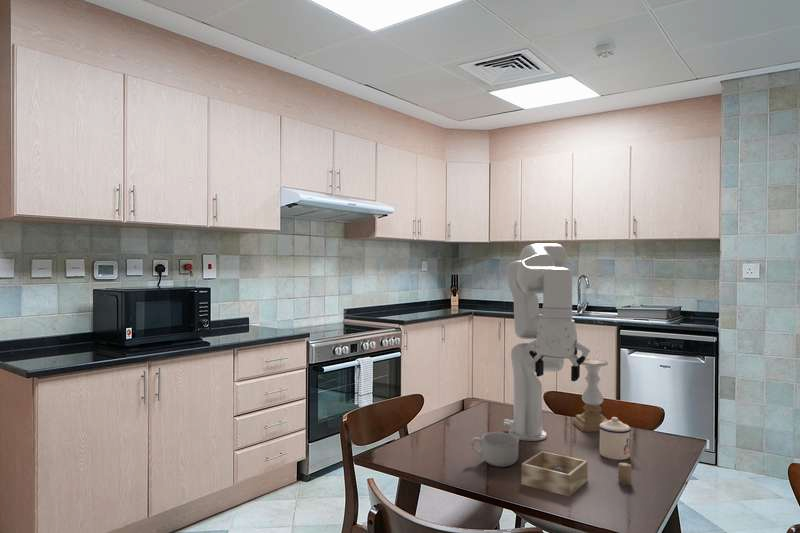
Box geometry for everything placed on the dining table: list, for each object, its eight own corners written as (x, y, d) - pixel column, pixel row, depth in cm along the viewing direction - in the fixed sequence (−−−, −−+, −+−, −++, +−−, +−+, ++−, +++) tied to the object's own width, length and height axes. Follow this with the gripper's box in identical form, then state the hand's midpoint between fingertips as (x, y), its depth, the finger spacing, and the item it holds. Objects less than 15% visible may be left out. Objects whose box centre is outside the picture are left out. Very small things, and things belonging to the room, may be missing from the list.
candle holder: (601, 422, 207) (602, 358, 207) (613, 431, 196) (614, 363, 196) (572, 422, 207) (572, 358, 207) (582, 431, 196) (583, 363, 196)
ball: (550, 479, 151) (550, 467, 151) (555, 475, 153) (555, 464, 153) (562, 482, 149) (562, 470, 149) (566, 478, 151) (566, 466, 151)
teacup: (520, 460, 167) (521, 434, 167) (516, 473, 157) (516, 445, 157) (474, 455, 172) (475, 429, 172) (467, 467, 161) (467, 439, 161)
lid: (589, 489, 147) (589, 466, 147) (606, 474, 158) (606, 452, 158) (645, 504, 139) (645, 479, 139) (659, 486, 150) (659, 463, 150)
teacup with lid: (631, 462, 166) (631, 423, 166) (598, 458, 169) (598, 419, 169) (629, 449, 177) (629, 413, 177) (599, 446, 181) (599, 410, 181)
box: (521, 486, 148) (521, 463, 148) (541, 472, 158) (541, 450, 158) (569, 499, 140) (569, 475, 140) (587, 483, 150) (587, 461, 150)
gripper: (521, 313, 152) (520, 376, 152) (584, 317, 141) (584, 385, 141) (533, 311, 158) (532, 372, 158) (594, 315, 147) (594, 380, 147)
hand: (556, 378), depth 150 cm, fingers open, 9 cm apart
